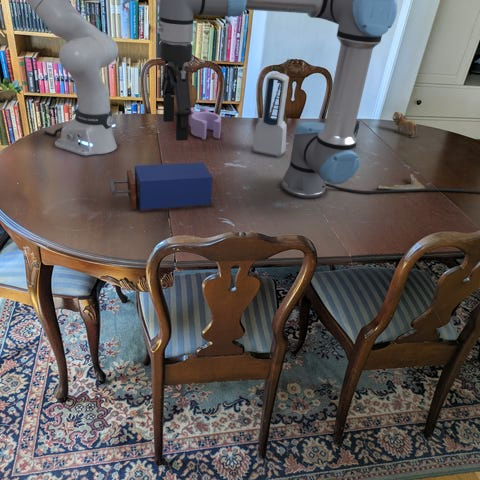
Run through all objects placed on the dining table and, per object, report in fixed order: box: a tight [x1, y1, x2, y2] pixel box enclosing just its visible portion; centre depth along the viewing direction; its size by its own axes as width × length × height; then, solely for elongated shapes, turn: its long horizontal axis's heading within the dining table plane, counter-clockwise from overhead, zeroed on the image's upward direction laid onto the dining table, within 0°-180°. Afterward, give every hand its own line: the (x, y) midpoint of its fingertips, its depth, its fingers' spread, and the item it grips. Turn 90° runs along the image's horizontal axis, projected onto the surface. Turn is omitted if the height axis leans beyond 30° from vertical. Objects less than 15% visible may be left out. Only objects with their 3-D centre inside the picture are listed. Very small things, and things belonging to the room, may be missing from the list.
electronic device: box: [251, 72, 290, 158], centre depth 178 cm, size 12×8×30 cm, turn 71°
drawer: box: [108, 169, 140, 210], centre depth 141 cm, size 26×10×8 cm, turn 109°
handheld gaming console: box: [353, 119, 361, 138], centre depth 194 cm, size 23×3×10 cm, turn 161°
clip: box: [188, 106, 222, 140], centre depth 199 cm, size 20×12×7 cm, turn 23°
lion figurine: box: [392, 111, 420, 138], centre depth 220 cm, size 15×5×9 cm, turn 50°
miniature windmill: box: [269, 58, 290, 124], centre depth 205 cm, size 9×8×30 cm
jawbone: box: [376, 173, 426, 190], centre depth 169 cm, size 9×20×2 cm, turn 126°
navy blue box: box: [134, 161, 213, 213], centre depth 143 cm, size 22×11×10 cm, turn 109°
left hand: (175, 19), depth 144 cm, fingers open, 8 cm apart
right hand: (174, 130), depth 120 cm, fingers open, 13 cm apart
